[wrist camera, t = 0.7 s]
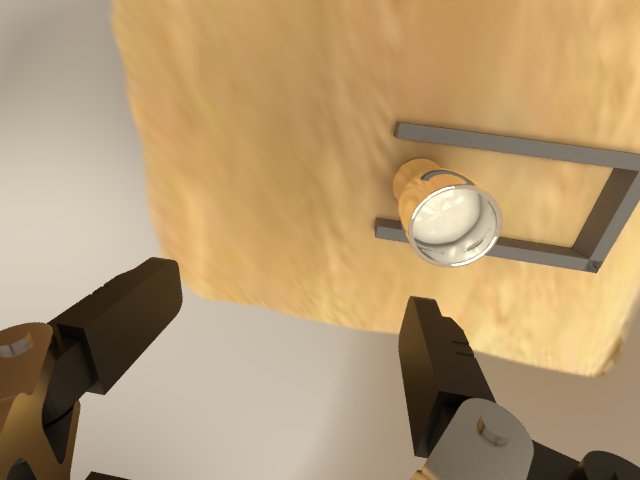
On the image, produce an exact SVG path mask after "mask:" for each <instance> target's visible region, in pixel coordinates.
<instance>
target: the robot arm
mask: <svg viewBox="0 0 640 480" xmlns="http://www.w3.org/2000/svg"><path fill="white" fill-rule="evenodd" d="M181 305H182V289H181V281H180V273H179V266H178V263H177V262H176V261H175V260H170V259H163V258H156V257H151V258H149V259H148V260H146V261H145V262H143V263H142V264H141V265H139V266H138V267H136V268H135V269H132V270H130V271H127V272H125V273H122V274H120V275H118V276H116V277H114V278H113V279H111V280H110V281H109V282H107V283H106V284H104V286H103V287H100V288H98V289H97V290H95V291H94V292H93V293H92V295H91V294H90V295H88V296H86V297H85V298H83V299H82V300H80V301H79V302H78V303H76V304H75V305H73V306H72V307H70V308H69V309H67V310H66V311H65V312H63V313H61V314H60V315H58V316H57V317H56V318H54V319H53V320H51V321H50V322H48V323H47V324H45V323H40V322H33V323H25V324H20V325H16V326H13V327H9V328H7V329H4V330H2V331H0V480H70V472H71V465H72V459H73V453H74V446H75V439H76V434H77V427H78V421H79V415H80V402H79V398H80V397H81V396H82V395H83V394H84V393H85V392H91V393H97V394H102V395H105V394H106V393H107V392H108V391H109V390H110V389H111V387H112V386H113V385H114V384H115V383H116V382H117V381H118V380H119V379H120V377H121V376H122V375H123V374H124V373H125V372H126V371H127V370H128V369H129V368H130V366H131V365H132V364H133V363H134V362H135V361H136V360H137V359H138V358H139V356H140V355H141V354H142V353H143V352H144V351H145V350H146V349H147V347H148V346H149V345H150V344H151V343H152V342H153V341H154V340H155V339H156V337H157V336H158V335H159V334H160V333H161V332H162V331H163V330H164V329H165V328H166V326H167V325H168V324H169V323H170V322H171V321H172V320H173V319H174V318H175V316H176V315H177V314H178V312H179V311H180V308H181ZM398 347H399V357H400V363H401V370H402V377H403V383H404V390H405V396H406V402H407V409H408V416H409V422H410V429H411V436H412V442H413V449H414V455H415V456H418V457H423V458H428V460H427V461H426V463H425V464H424V466H423V467H422V469H421V470H420V471H419V470H417V472H416V473H415V474H414V475H413V477H412V478H411V480H640V468H639V467H638V466H636V465H634V464H633V463H631V462H629V461H628V460H626V459H624V458H622V457H620V456H617V455H615V454H612V453H609V452H604V451H592V452H589V453H588V454H587V455H585V457H584V458H583V459H582V461H581V462H579V461H576V460H574V459H572V458H570V457H568V456H566V455H563V454H561V453H559V452H557V451H555V450H552V449H550V448H548V447H546V446H543V445H541V444H539V443H537V442H535V441H534V440H532V439H531V437H530V436H529V433H528V432H527V430H526V429H525V427H524V426H523V425H522V423H521V422H520V421H519V420H518V419H517V418H516V417H515V416H514V415H513V414H511V413H510V412H509V411H507V410H506V409H505V408H503V407H502V406H500V405H498V404H497V403H496V401H495V399H494V397H493V395H492V392H491V390H490V388H489V386H488V384H487V382H486V379H485V377H484V375H483V373H482V371H481V368H480V366H479V364H478V362H477V360H476V358H474V353H473V351H472V349H471V347H470V346H469V342H468V340H467V338H466V336H465V334H464V331H463V330H462V329H461V328H460V327H459V326H458V325H457V323H456V322H455V321H454V320H453V319H452V318H450V317H443V316H442V315H441V313H440V310H439V307H438V305H437V302H436V300H434V299H429V298H422V297H415V296H410V298H409V300H408V303H407V307H406V311H405V315H404V319H403V322H402V326H401V330H400V335H399V345H398ZM85 480H129V479H125V478H120V477H115V476H111V475H106V474H101V473H96V472H92V471H91V473H90V474H89V475H88V477H87V478H86V479H85Z"/></svg>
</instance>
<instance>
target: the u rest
mask: <svg viewBox="0 0 640 480" xmlns="http://www.w3.org/2000/svg"><path fill="white" fill-rule="evenodd" d="M394 136H395V137H396V138H401V139H408V140H416V141H423V142H430V143H438V144H445V145H452V146H460V147H467V148H474V149H481V150H489V151H496V152H503V153H511V154H518V155H525V156H533V157H540V158H547V159H554V160H562V161H569V162H576V163H584V164H591V165H598V166H606V167H613V168H614V170H613V172H612V174H611V175H610V177H609V179H608V181H607V183H606V185H605V187H604V189H603V191H602V193H601V194H600V196H599V198H598V200H597V202H596V204H595V206H594V208H593V210H592V212H591V213H590V215H589V217H588V219H587V221H586V223H585V225H584V227H583V229H582V231H581V233H580V234H579V236H578V238H577V240H576V242H575V244H574V246H573V248H566V247H560V246H553V245H547V244H541V243H534V242H528V241H521V240H515V239H509V238H502V237H499V238H498V240H497V242H496V243H495V245H494V246H493V247H492V249H491V250H490V251H489V252H488V253H487V254H485V255H487V256H493V257H499V258H505V259H512V260H518V261H524V262H530V263H537V264H543V265H549V266H555V267H562V268H568V269H574V270H580V271H587V272H593V273H597V272H598V270H599V268H600V267H601V265H602V263H603V262H604V260H605V258H606V256H607V255H608V253H609V251H610V250H611V248H612V246H613V245H614V243H615V241H616V239H617V238H618V236H619V234H620V233H621V231H622V229H623V227H624V226H625V224H626V222H627V221H628V219H629V217H630V216H631V214H632V212H633V210H634V209H635V207H636V205H637V204H638V202H639V200H640V154H634V153H627V152H619V151H612V150H604V149H597V148H589V147H582V146H574V145H567V144H559V143H552V142H544V141H537V140H529V139H522V138H514V137H507V136H499V135H492V134H484V133H477V132H469V131H462V130H454V129H447V128H439V127H432V126H424V125H417V124H409V123H402V122H397V125H396V129H395V134H394ZM374 230H375V238H381V239H387V240H393V241H400V242H406V243H410V242H409V240H408V239H407V237H406V235H405V233H404V231H403V229H402V227H401V224H400V221H393V220H387V219H380V218H377V219H376V224H375V228H374Z"/></svg>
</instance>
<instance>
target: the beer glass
mask: <svg viewBox="0 0 640 480" xmlns="http://www.w3.org/2000/svg"><path fill="white" fill-rule="evenodd" d="M392 188H393V193H394V196H395V198H396V199H397V201H398V216H399V220H400V224H401V227H402V229H403V231H404V233H405V235H406V237H407V239H408V240H409V242H410V243H411V246H412V248H413V249H414V251H415V252H416V253H417V255H418V256H419V257H421V258H422V259H423V260H425V261H426V262H428V263H430V264H432V265H435V266H439V267H446V268H453V267H460V266H465V265H468V264H470V263H473V262H475V261H477V260H478V259H480V258H482V257H483V256H484V255H485V254H487V253H488V252H489V251H490V250H491V249H492V247H493V246H494V245H495V243H496V242H497V240H498V238H499V236H500V233H501V229H502V213H501V210H500V207H499V205H498V203H497V202H496V200H495V199H494V198H493V197H492V196H491V195H490V194H489V193H487V192H486V191H485V190H484V189H483V188H482V187H481V186H479V185H478V184H477V183H476V182H475V181H473V180H472V179H470V178H469V177H467V176H465V175H463V174H461V173H459V172H457V171H454V170H450V169H444V168H441V167H440V166H439V165H438V164H437V163H435V162H434V161H432V160H429V159H424V158H419V159H414V160H411V161H409V162H407V163H405V164H404V165H402V166H401V167H400V168H399V170H398V171H397V172H396V174H395V176H394V179H393V184H392Z"/></svg>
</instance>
